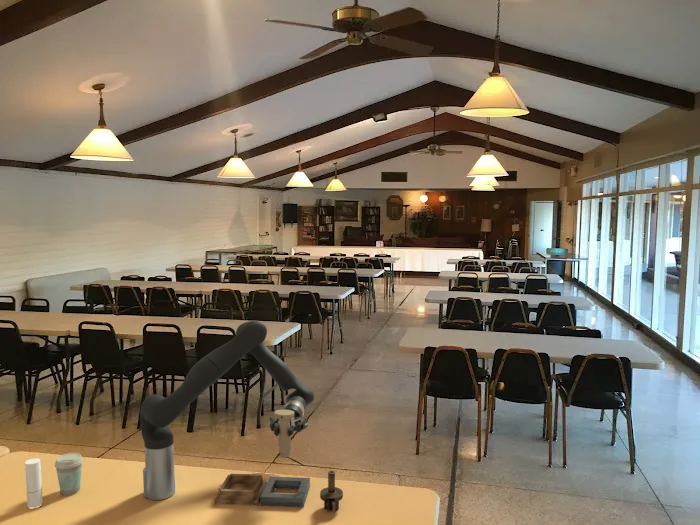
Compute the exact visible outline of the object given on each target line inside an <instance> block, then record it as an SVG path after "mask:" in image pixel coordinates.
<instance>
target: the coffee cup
mask: <svg viewBox="0 0 700 525" xmlns="http://www.w3.org/2000/svg"><path fill="white" fill-rule="evenodd" d="M83 461H84V460H83V457H82V455H81V454H80V453H78V452H68V453H65V454H62V455H59V456H58V457H57V458H56V460H55V461H54V462H55V463H54V467H55V468H56V469H55V470H56V476H57V481H58V486H59V492H60V494H63V495H62V496H64V495H70V496H73V495H72V494H74V495H76V494H77V492H78V491H79V490H81V480H82V468H83V466H82V465H83ZM79 492H80V491H79ZM79 492H78V493H79ZM75 493H76V494H75Z"/></svg>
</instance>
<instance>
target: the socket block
mask: <svg viewBox="0 0 700 525" xmlns="http://www.w3.org/2000/svg"><path fill="white" fill-rule="evenodd" d="M266 482H267V483H266V485H265V488H264V490H263V492H262V494H261V496H260V501H259V504H260V507H261V506H262V507H264V506H265V507H283V508H284V507H286V508H288V507H289V508H304V507H305V504H306V501H307V497H308V495H309V490H310V487H311V478H310V477H299V476H298V477H297V476H296V477H295V476H291V477H290V476H269V478H268V480H267V481H266ZM279 489H280V490H281V489H282V490H297V493H278V492H277V493H275V490H279Z"/></svg>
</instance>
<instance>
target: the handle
mask: <svg viewBox="0 0 700 525" xmlns="http://www.w3.org/2000/svg"><path fill="white" fill-rule="evenodd" d="M293 417H294V411H291V410H283V409H277V410H275V411H274V418H276V419H277V418H278V419H279V435H278V449H279V457H281V458H283V459H285V458H289V457H290V456H291V448H292V447H291V445H292V440H291V439H292V435H291V436H288V430H289V427H290V419H291V418H293Z"/></svg>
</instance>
